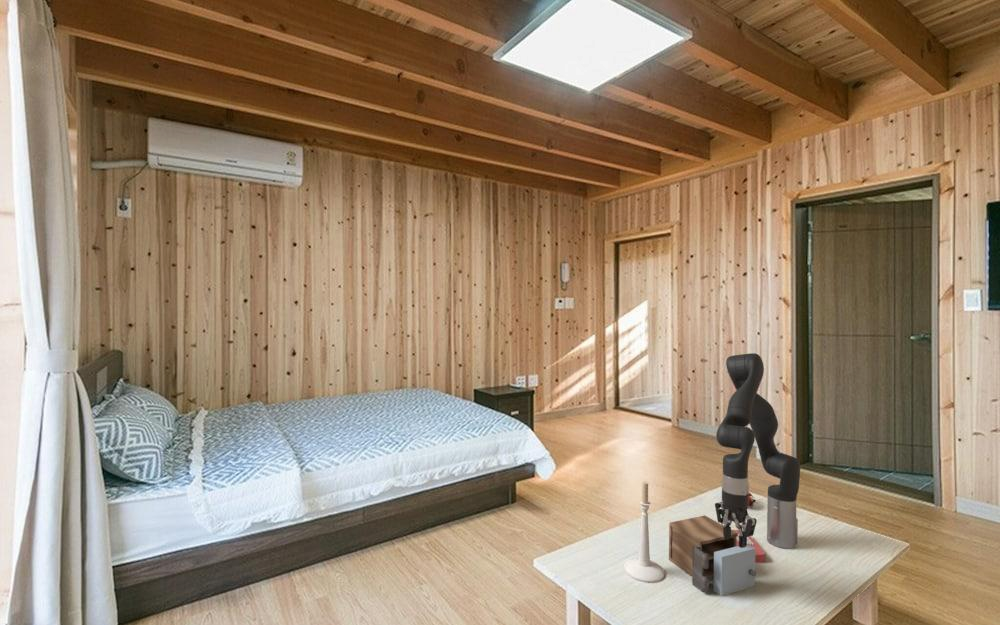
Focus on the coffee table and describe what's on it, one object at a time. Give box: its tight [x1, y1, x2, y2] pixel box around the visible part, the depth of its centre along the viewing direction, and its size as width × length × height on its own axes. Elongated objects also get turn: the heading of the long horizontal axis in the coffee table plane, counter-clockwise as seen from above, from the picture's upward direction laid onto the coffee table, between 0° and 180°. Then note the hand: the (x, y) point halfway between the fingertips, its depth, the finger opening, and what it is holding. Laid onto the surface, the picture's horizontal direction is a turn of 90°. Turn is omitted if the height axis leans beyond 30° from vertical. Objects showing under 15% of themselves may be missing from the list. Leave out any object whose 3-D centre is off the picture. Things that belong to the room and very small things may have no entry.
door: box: [713, 544, 756, 597], centre depth 145 cm, size 4×14×12 cm, turn 112°
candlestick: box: [623, 481, 666, 584], centre depth 154 cm, size 13×13×30 cm
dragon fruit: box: [748, 492, 756, 508], centre depth 205 cm, size 8×8×12 cm
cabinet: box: [668, 514, 738, 593], centre depth 154 cm, size 20×20×13 cm
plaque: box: [732, 529, 766, 564], centre depth 169 cm, size 18×4×15 cm
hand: (734, 542), depth 146 cm, fingers open, 5 cm apart
